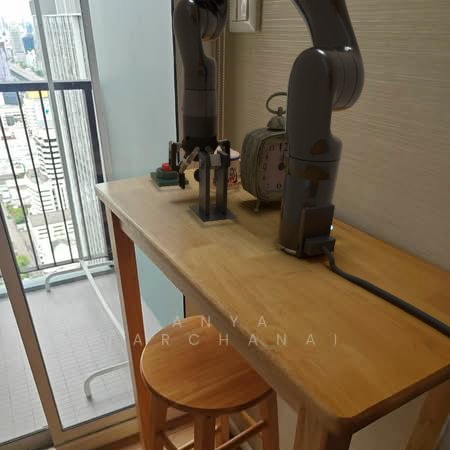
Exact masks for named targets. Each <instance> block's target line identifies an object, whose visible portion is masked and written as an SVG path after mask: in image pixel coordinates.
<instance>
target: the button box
mask: <svg viewBox="0 0 450 450" xmlns="http://www.w3.org/2000/svg"><path fill="white" fill-rule="evenodd" d="M149 175H150V178H151V179H152V180H153V181H154V183H155V184H156V185H157V187H159V188H165V187H176V186H178V184H177V172H176V171H172V172H165V171H162V166H159V167H157V168H156V169H155V171H150V173H149ZM187 185H189V186H190V179H188V178H187V177H186V176H185V186H187ZM178 187H179V186H178Z"/></svg>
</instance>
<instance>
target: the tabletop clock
mask: <svg viewBox="0 0 450 450" xmlns="http://www.w3.org/2000/svg"><path fill="white" fill-rule="evenodd" d="M279 96H281V97H283V96H286V97H287V91H277V92H274V93H272V94H271V95H269V96H268V97H267V100H266V101H265V108H266V110H267V111H268V112H269V113H271V114H273V115H274V116H272V117H270V118H269V120H268V122H267V124H266V126H264V127H259V128H253V129H251V130H249V131H247V132H246V133H245V136H244V137H243V140H242V144H241V153H240V159H241V160H240V162H239V172H240V173H239V175H240V177H241V178H240V184H241V187H242V189H243V190H244V191H245V192H246V193H248V194H249V195H251V196H253V197H254V198H256V204H255V207H254V208H253V209H252V212H254V213H259V212H260V209H259V207H260V204H261V202H264V203H266V204H267V203H270V202H282V194H283V185H284V176H285V168H286V159H287V149H288V145H287V140H286V135H285V120H286V116H284V115H286V109H283V106H278V108H277V110H274V109H271V108H270V107H269V102H270V101H271V100H272V99H273V98H275V97H279Z"/></svg>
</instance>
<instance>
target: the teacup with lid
mask: <svg viewBox="0 0 450 450" xmlns="http://www.w3.org/2000/svg"><path fill="white" fill-rule="evenodd" d="M218 150H221V149H220V147H219V146H218V147H217V149H216V151H215V152H214V154H217V151H218ZM221 151H222V150H221ZM240 160H241V153H239V152H238V151H237V150H234V149H233V148H231V147H230V161H231V165H230V167H228V189H227V190H233V189H235V188H237V187H238V186H239V179H240V180H241V177H240V174H239V170H240ZM210 189H212V190H213V189H214V190H216V186H215V185H214V170H210Z"/></svg>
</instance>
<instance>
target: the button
mask: <svg viewBox="0 0 450 450" xmlns="http://www.w3.org/2000/svg"><path fill="white" fill-rule="evenodd" d="M168 163H169V162H162V163H161V167H162V171H165V172H172V170H171V169H170V168H169V166H168Z"/></svg>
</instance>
